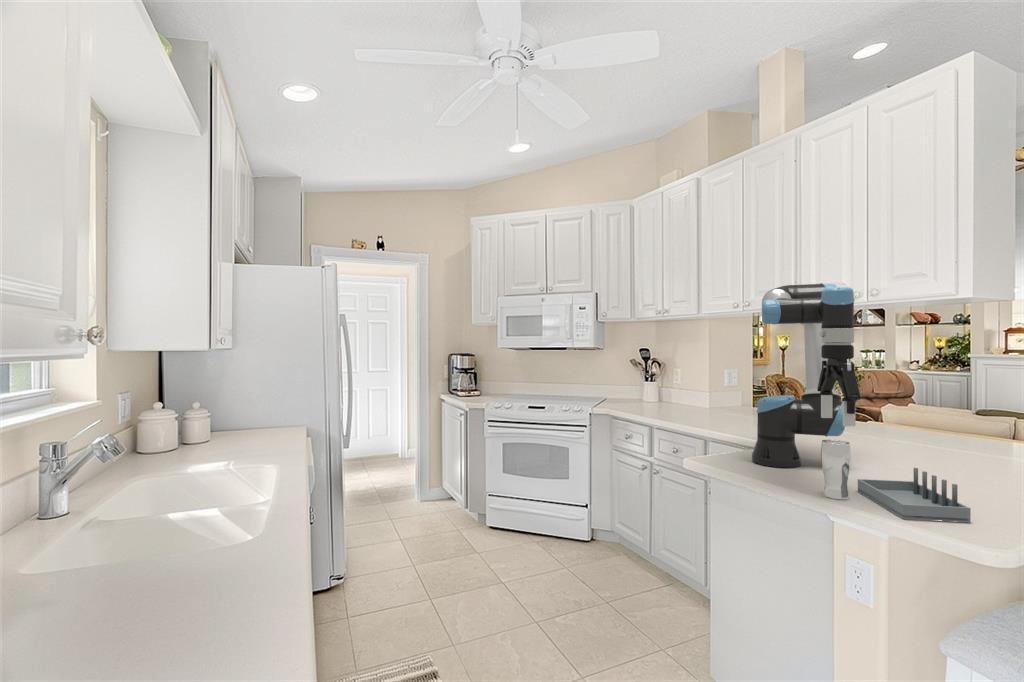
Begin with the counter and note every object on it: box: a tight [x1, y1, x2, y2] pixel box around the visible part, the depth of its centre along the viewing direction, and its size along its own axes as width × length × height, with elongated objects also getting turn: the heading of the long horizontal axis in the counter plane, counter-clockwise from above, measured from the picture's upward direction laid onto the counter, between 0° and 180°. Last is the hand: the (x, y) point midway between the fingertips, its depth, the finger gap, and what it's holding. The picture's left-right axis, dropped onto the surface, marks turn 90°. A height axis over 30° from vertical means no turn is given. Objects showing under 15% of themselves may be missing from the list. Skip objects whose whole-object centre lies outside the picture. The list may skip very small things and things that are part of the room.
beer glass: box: [820, 439, 852, 501], centre depth 141 cm, size 7×7×15 cm
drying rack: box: [857, 467, 971, 523], centre depth 133 cm, size 23×14×8 cm, turn 169°
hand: (837, 421), depth 141 cm, fingers open, 13 cm apart
